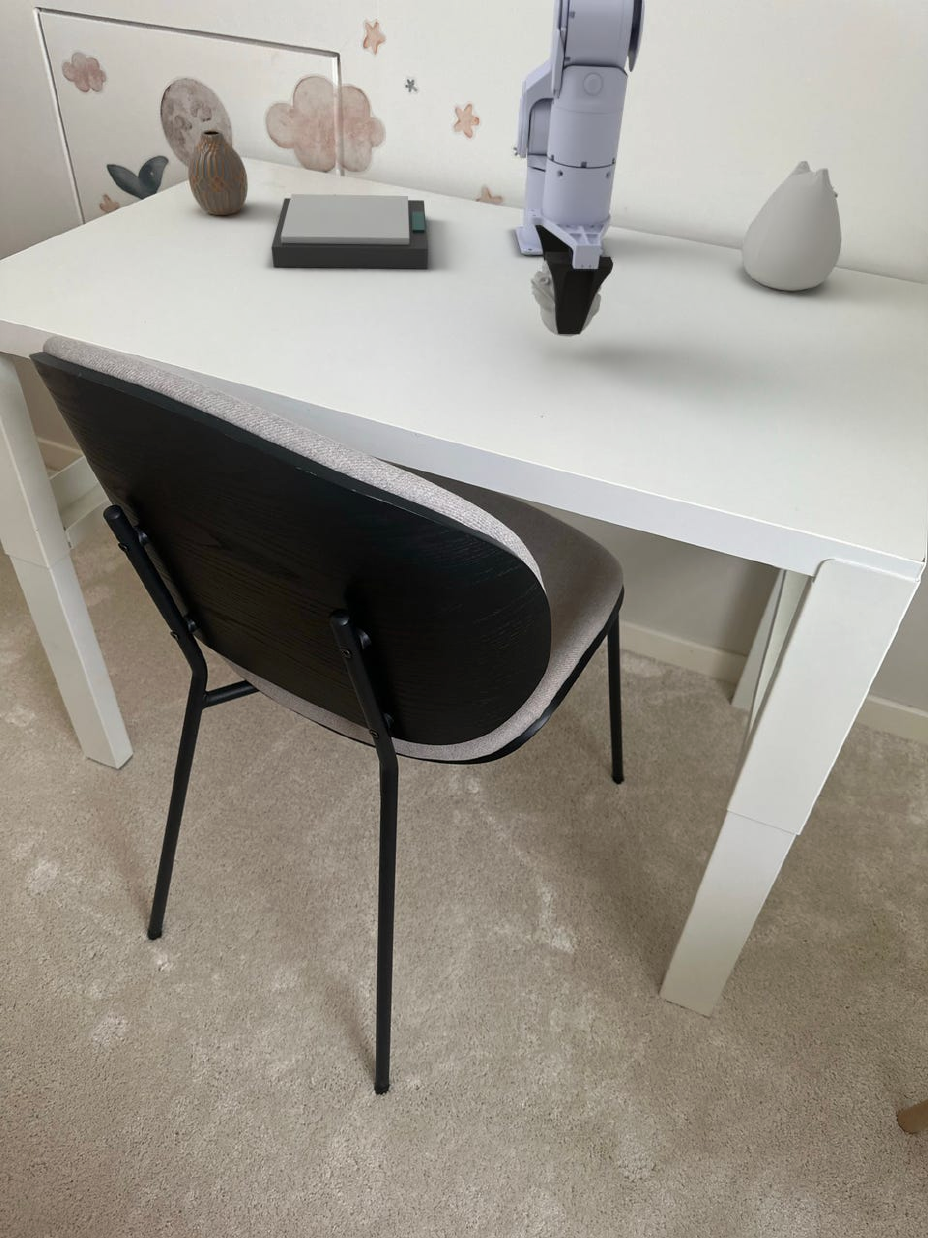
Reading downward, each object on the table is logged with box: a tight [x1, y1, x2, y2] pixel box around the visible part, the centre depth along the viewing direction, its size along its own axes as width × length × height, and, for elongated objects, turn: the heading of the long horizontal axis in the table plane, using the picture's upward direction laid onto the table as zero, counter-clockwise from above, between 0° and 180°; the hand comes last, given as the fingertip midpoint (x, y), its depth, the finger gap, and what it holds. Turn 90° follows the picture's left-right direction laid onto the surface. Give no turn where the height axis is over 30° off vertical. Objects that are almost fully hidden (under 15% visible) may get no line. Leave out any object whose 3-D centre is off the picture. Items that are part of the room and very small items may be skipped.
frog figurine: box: [530, 260, 602, 338], centre depth 81 cm, size 6×7×7 cm
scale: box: [271, 193, 429, 270], centre depth 103 cm, size 17×16×3 cm
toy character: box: [741, 160, 842, 292], centre depth 96 cm, size 10×10×12 cm
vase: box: [188, 129, 249, 216], centre depth 108 cm, size 7×7×9 cm
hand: (563, 316), depth 83 cm, fingers closed on frog figurine, 6 cm apart
